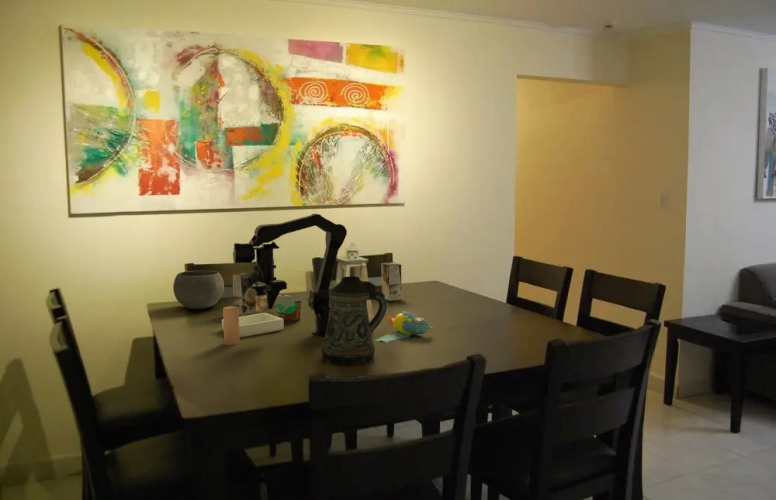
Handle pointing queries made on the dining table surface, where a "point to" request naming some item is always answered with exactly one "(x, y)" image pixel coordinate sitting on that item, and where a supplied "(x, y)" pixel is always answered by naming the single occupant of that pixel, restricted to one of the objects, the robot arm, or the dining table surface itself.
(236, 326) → the tan upright cylinder
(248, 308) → the coffee box
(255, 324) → the tote
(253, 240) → the robot arm
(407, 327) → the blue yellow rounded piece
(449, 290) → the dining table surface
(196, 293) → the bowl
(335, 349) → the beer stein
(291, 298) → the food container
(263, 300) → the maple block
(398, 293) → the coffee box
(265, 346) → the dining table surface
